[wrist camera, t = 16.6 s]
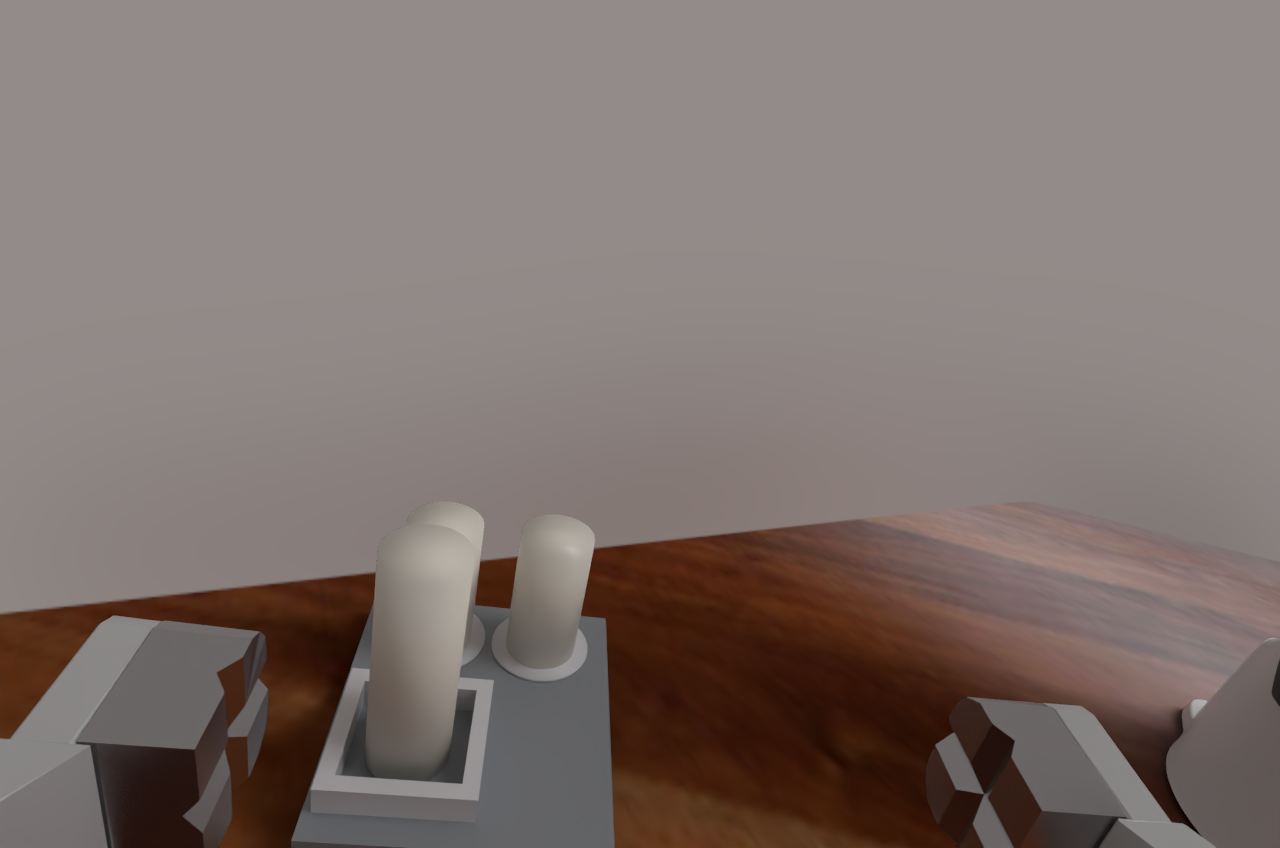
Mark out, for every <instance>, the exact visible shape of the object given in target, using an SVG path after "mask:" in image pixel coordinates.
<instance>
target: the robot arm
mask: <svg viewBox="0 0 1280 848" xmlns="http://www.w3.org/2000/svg"><path fill="white" fill-rule="evenodd" d="M266 660H267V650H266V636H265V635H264V634H262V633H261V632H258V631H250V630H241V629H233V628H224V627H216V626H207V625H198V624H190V623H181V622H173V621H163V622H162V621H154V620H146V619H138V618H130V617H122V616H112V617H110V618H109V619H107V620H105V621H104V622H102V623H101V624H99V625H98V626H97V627H96V629H95V630H94V631H93V633H92V634H91V635H90V636H89V638H88V639H87V640H86V642H85V643H84V644H83V645H82V647H81V648H80V649H79V651H78V652H77V653H76V654H75V656H74V657H73V658H72V660H71V661H70V662H69V663H68V665H67V666H66V667H65V669H64V670H63V671H62V672H61V674H60V675H59V676H58V678H57V679H56V680H55V681H54V683H53V684H52V685H51V687H50V688H49V689H48V690H47V692H46V693H45V694H44V696H43V697H42V698H41V699H40V701H39V702H38V703H37V705H36V706H35V707H34V708H33V710H32V711H31V712H30V714H29V715H28V716H27V717H26V719H25V720H24V721H23V723H22V724H21V725H20V726H19V728H18V729H17V730H16V732H15V733H14V734H13V735H12V737H11V738H10V739H0V848H219V846H220V844H221V842H222V839H223V837H224V835H225V832H226V830H227V828H228V826H229V823H230V821H231V819H232V796H231V791H233V790H234V789H235V788H237V787H238V786H239V785H241V784H242V783H243V782H245V781H246V780H247V779H249V776H250V774H251V771H252V769H253V767H254V764H255V762H256V759H257V757H258V754H259V750H260V747H261V743H262V739H263V735H264V732H265V728H266V721H267V712H268V689H267V688H266V686H265V685H264V684H263V683H262V682H261V681H260V680H259V679H258V677H259V675H260V673H261V671H262V669H263V667H264V664H265V662H266ZM948 720H949V722H950V725H951V728H952V730H953V733H952V734H951V735H949V736H948V737H946V738H945V739H943V740H942V741H940V742H939V743H937V744H936V745H935V747H934V749H933V751H932V753H931V756H930V758H929V760H928V763H927V768H926V792H927V797H928V802H929V806H930V809H931V811H932V813H933V816H934V818H935V821H936V823H937V825H938V826H939V827H940V828H941V829H942V830H943V831H944V832H945V833H946V834H947V835H948V836H949V837H950V838H952V839H953V840H954V841H955V842H956V843H957V846H956V848H1280V638H1276V639H1275V638H1270V639H1267V640H1265V641H1263V642H1262V643H1261V644H1260V645H1259V646H1258V647H1257V648H1256V649H1255V650H1254V651H1253V652H1252V653H1251V654H1250V655H1249V656H1248V657H1247V659H1246V660H1245V661H1244V662H1243V663H1242V664H1241V665H1240V666H1239V667H1238V668H1237V670H1236V671H1235V672H1234V673H1233V674H1232V675H1231V676H1230V677H1229V678H1228V679H1227V681H1226V682H1225V683H1224V684H1223V685H1222V686H1221V687H1220V688H1219V690H1218V691H1217V692H1216V693H1215V694H1214V695H1213V696H1212V697H1211V699H1210V700H1209V701H1205V700H1200V699H1195V700H1192V701H1191V702H1190V703H1189V704H1188V705H1187V706H1186V707H1185V708H1184V709H1183V711H1182V724H1183V733H1182V735H1181V736H1180V737H1179V738H1178V739H1177V740H1176V741H1175V742H1174V743H1173V744H1172V746H1171V747H1170V749H1169V751H1168V754H1167V758H1166V770H1167V776H1168V780H1169V783H1170V786H1171V788H1172V791H1173V793H1174V795H1175V797H1176V799H1177V801H1178V803H1179V805H1180V806H1181V808H1182V810H1183V811H1184V813H1185V814H1186V816H1187V817H1188V819H1189V820H1190V822H1191V823H1192V824H1193V826H1194V827H1195V828H1196V829H1197V831H1198V832H1199V833H1200V834H1201V836H1202V837H1201V836H1200V835H1199V834H1197V833H1196V832H1195V831H1193V830H1192V829H1190V828H1189V827H1188V826H1186V825H1185V824H1182V823H1172V822H1171V821H1170V819H1169V818H1168V817H1167V815H1166V814H1165V812H1164V811H1163V810H1162V808H1161V807H1160V806H1159V804H1158V803H1157V801H1156V800H1155V799H1154V797H1153V796H1152V795H1151V793H1150V792H1149V790H1148V789H1147V788H1146V786H1145V785H1144V783H1143V782H1142V781H1141V779H1140V778H1139V777H1138V775H1137V774H1136V772H1135V771H1134V770H1133V768H1132V767H1131V766H1130V764H1129V763H1128V761H1127V760H1126V759H1125V757H1124V756H1123V754H1122V753H1121V752H1120V750H1119V749H1118V748H1117V746H1116V745H1115V743H1114V742H1113V741H1112V739H1111V738H1110V737H1109V735H1108V734H1107V732H1106V731H1105V730H1104V728H1103V727H1102V726H1101V724H1100V723H1099V721H1098V720H1097V719H1096V717H1095V716H1094V715H1093V714H1092V713H1090V712H1089V711H1088V710H1086V709H1085V708H1083V707H1082V706H1074V705H1061V704H1049V703H1042V704H1039V703H1034V702H1022V701H1010V700H998V699H986V698H973V697H965V698H964V699H962V700H961V701H960V702H958V703H957V704H956V705H955V707H954V709H953V711H952V713H951V715H950V717H949V719H948Z"/></svg>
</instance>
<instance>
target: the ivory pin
mask: <svg viewBox="0 0 1280 848" xmlns="http://www.w3.org/2000/svg"><path fill="white" fill-rule="evenodd" d="M474 560H475V549H474V547H473V545H472V543H471V542H470V540H469V539H468V538H467V537H465V536H464V535H463V534H461V533H460V532H458V531H456V530H453V529H451V528H448V527H444V526H440V525H433V524H417V525H410V526H405V527H402V528H399V529H397V530H394V531H392V532H391V533H389V534H388V535H386V536H385V537H384V538H383V539H382V540H381V542H380V544H379V546H378V550H377V564H376V580H375V596H374V612H373V628H372V644H371V660H370V675H369V691H368V707H367V723H366V739H365V763H366V765H367V768H368V769H369V771H370V772H371V773H372V775H374V776H375V777H376V778H383V779H397V780H412V781H428V780H430V779H432V778H434V777H435V776H436V775H437V774H438V773H440V772H441V771H442V769H443V768H444V767H445V765H446V763H447V761H448V759H449V754H450V747H451V739H452V731H453V724H454V716H455V708H456V700H457V692H458V685H459V677H460V669H461V661H462V653H463V646H464V638H465V630H466V622H467V614H468V607H469V599H470V591H471V583H472V575H473V568H474Z"/></svg>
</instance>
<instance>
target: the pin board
mask: <svg viewBox="0 0 1280 848" xmlns="http://www.w3.org/2000/svg"><path fill="white" fill-rule="evenodd" d="M417 524H433V525H440V526H444V527H448V528H451V529H453V530H456V531H458V532H460V533H461V534H463V535H464V536H465V537H467V538H468V539H469V540H470V542H471V543H472V545H473V547H474V549H475V560H474V568H473V575H472V583H471V591H470V599H469V607H468V614H467V622H466V630H465V638H464V646H463V653H462V661H461V669H460V677H459V685H458V692H457V700H456V708H455V716H454V724H453V731H452V739H451V747H450V754H449V759H448V761H447V763H446V765H445V767H444V768H443V769H442V771H441V772H440V773H438V774H437V775H436V776H435V777H434V778H432V779H430V780H428V781H412V780H397V779H383V778H376V777H375V776H374V775H372V773H371V772H370V771H369V769H368V768H367V765H366V763H365V739H366V723H367V707H368V691H369V675H370V660H371V644H372V628H373V612H374V603H373V605H372V608H371V611H370V614H369V617H368V620H367V623H366V626H365V629H364V631H363V634H362V637H361V640H360V643H359V646H358V649H357V652H356V655H355V658H354V660H353V663H352V666H351V669H350V672H349V675H348V678H347V681H346V684H345V686H344V689H343V692H342V695H341V698H340V701H339V704H338V707H337V710H336V712H335V715H334V718H333V721H332V724H331V727H330V730H329V733H328V736H327V739H326V741H325V744H324V747H323V750H322V753H321V756H320V759H319V762H318V765H317V767H316V770H315V773H314V776H313V779H312V782H311V785H310V788H309V791H308V793H307V796H306V799H305V802H304V805H303V808H302V811H301V814H300V817H299V820H298V822H297V825H296V828H295V831H294V834H293V837H292V840H291V848H615V845H614V819H613V794H612V768H611V742H610V716H609V690H608V664H607V638H606V619H605V618H595V617H585V616H581V611H582V606H583V601H584V596H585V590H586V585H587V580H588V575H589V570H590V565H591V560H592V555H593V550H594V544H595V536H594V534H593V532H592V530H591V529H590V528H589V527H588V526H587V525H586V524H584V523H583V522H581V521H579V520H577V519H575V518H572V517H569V516H564V515H557V514H548V515H541V516H537V517H534V518H532V519H530V520H529V521H527V522H526V523H525V525H524V526H523V528H522V532H521V539H520V546H519V553H518V560H517V567H516V574H515V580H514V587H513V594H512V601H511V608H510V609H506V608H496V607H486V606H476V605H475V600H476V591H477V583H478V574H479V566H480V557H481V548H482V541H483V532H484V521H483V518H482V516H481V515H480V514H479V513H478V512H477V511H476V510H474V509H472V508H470V507H468V506H466V505H463V504H460V503H455V502H432V503H428V504H424V505H422V506H420V507H418V508H416V509H415V510H413V511H412V512H411V513H410V515H409V516H408V519H407V526H410V525H417Z"/></svg>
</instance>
